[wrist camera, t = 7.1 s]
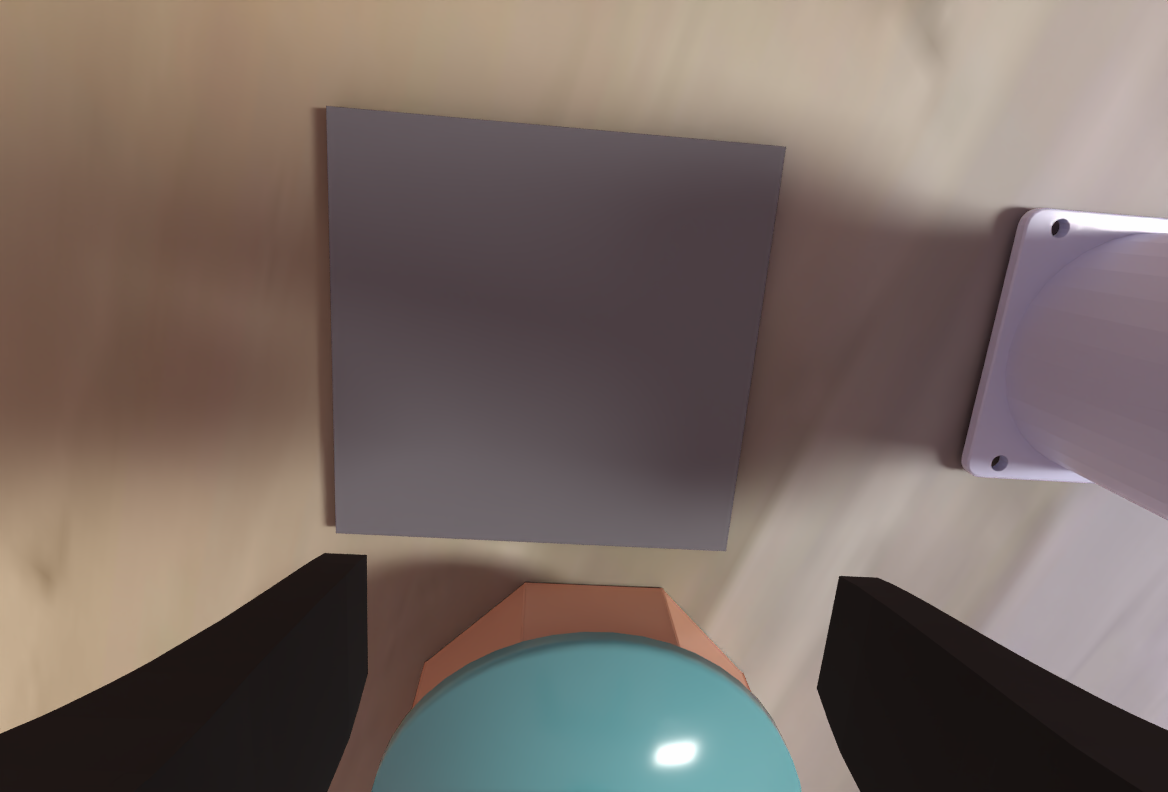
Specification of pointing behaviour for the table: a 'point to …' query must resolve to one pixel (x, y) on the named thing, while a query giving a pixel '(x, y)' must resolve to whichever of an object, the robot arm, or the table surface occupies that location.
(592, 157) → the mat
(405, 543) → the table surface
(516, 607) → the ramekin
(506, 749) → the lid
